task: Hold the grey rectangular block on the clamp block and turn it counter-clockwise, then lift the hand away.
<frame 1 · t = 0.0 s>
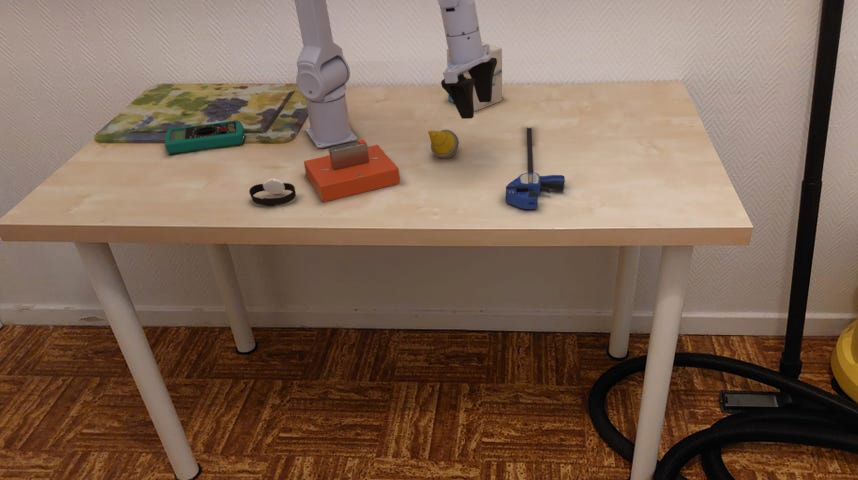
hand: (476, 109, 130), 11 cm above the table, tool pointing down, fingers open, 7 cm apart
yellow pointed rounded piece: (444, 158, 138), on the table
ink box: (475, 101, 160), on the table
digital multimeter: (206, 144, 147), on the table
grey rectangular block: (349, 154, 129), point 5 cm above the table, hinge at 0.0°
watch: (274, 201, 127), on the table
bar clamp: (534, 167, 134), on the table
clamp block: (352, 179, 132), on the table
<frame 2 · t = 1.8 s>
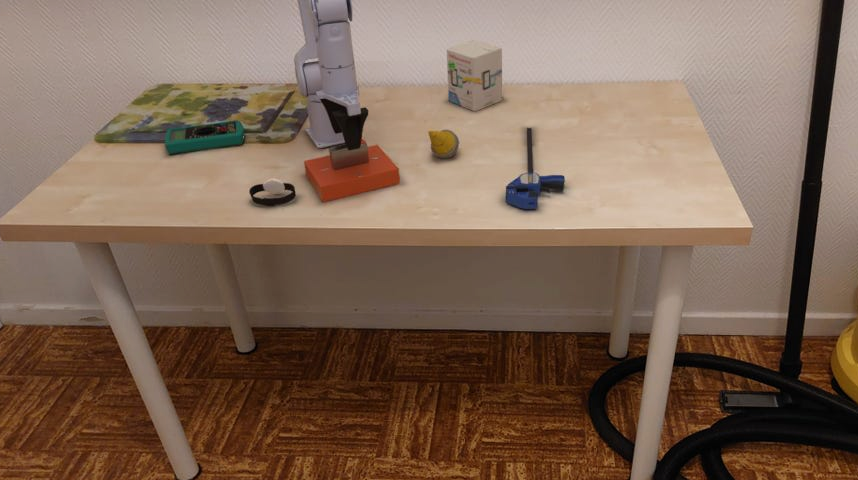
hand: (347, 140, 128), 8 cm above the table, tool pointing down, fingers open, 7 cm apart
nothing on the table moved.
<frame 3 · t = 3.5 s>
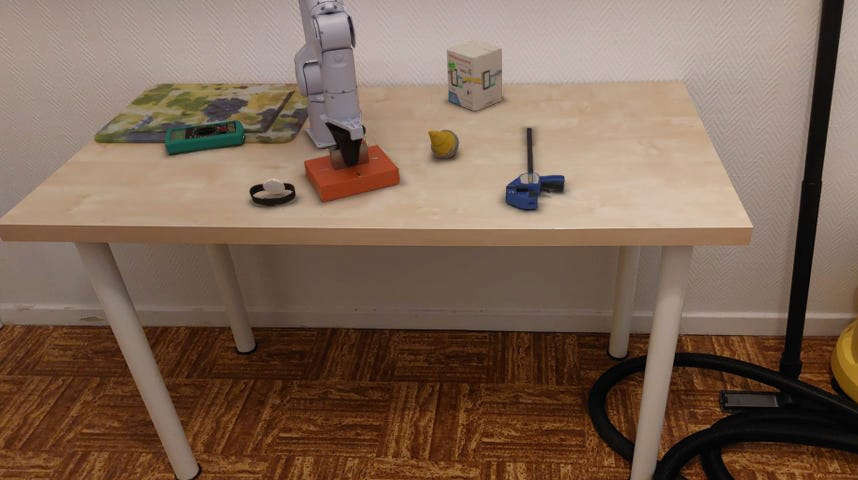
hand: (350, 161, 130), 4 cm above the table, tool pointing down, fingers closed on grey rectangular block, 2 cm apart
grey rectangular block: (349, 154, 129), point 5 cm above the table, hinge at 0.0°, touching gripper
everything else where it was.
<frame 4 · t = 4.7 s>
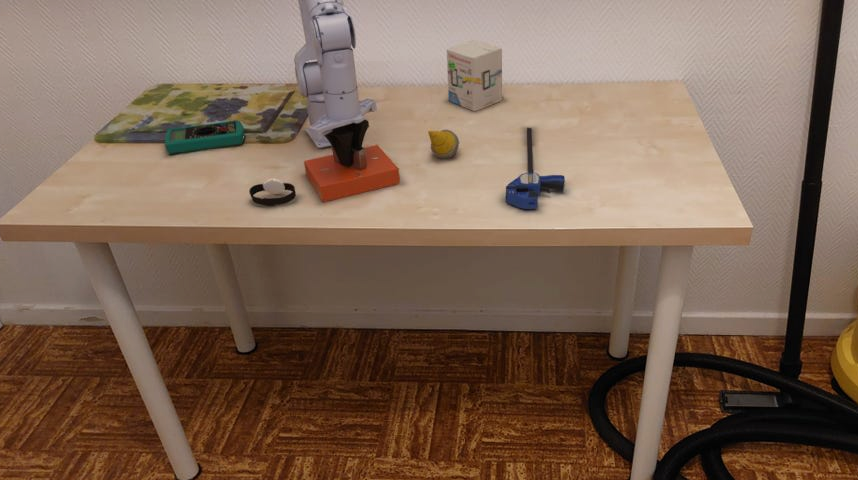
hand: (350, 162, 130), 3 cm above the table, tool pointing down, fingers closed, pressing on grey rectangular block
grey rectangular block: (349, 154, 129), point 5 cm above the table, hinge at 120.0°, touching gripper
everything else where it was.
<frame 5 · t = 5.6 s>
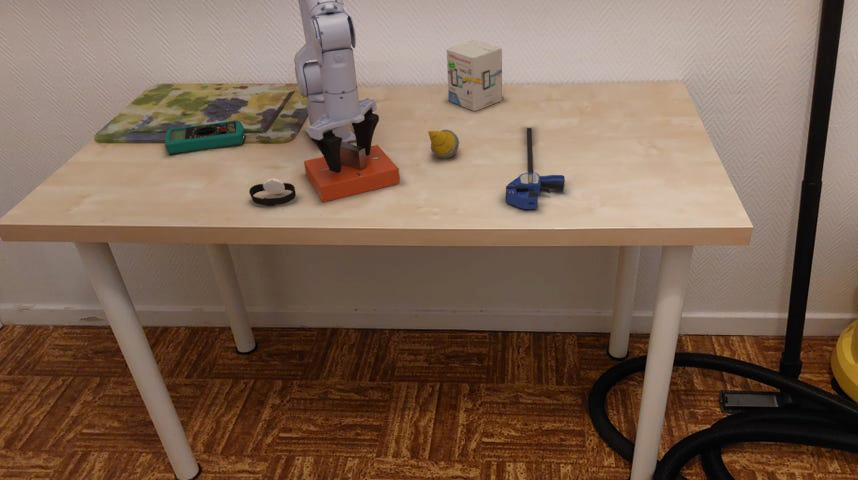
hand: (350, 162, 130), 3 cm above the table, tool pointing down, fingers open, 7 cm apart
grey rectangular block: (349, 154, 129), point 5 cm above the table, hinge at 120.0°
everything else where it was.
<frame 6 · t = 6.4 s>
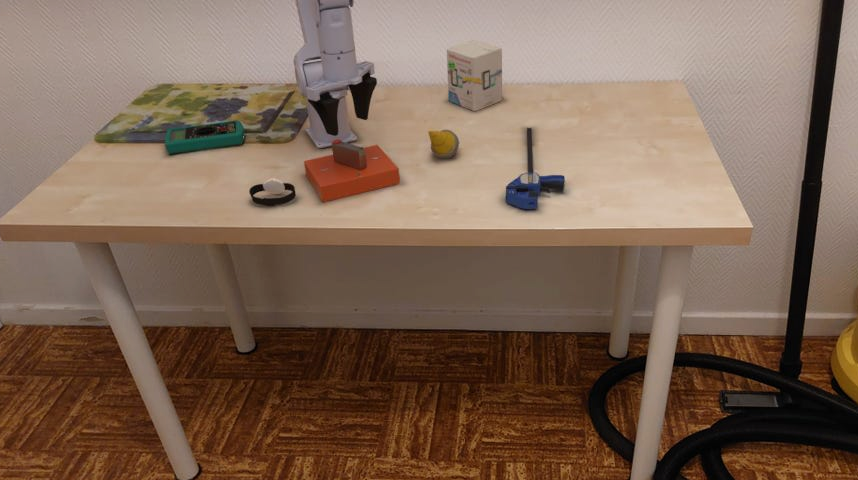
hand: (347, 126, 129), 9 cm above the table, tool pointing down, fingers open, 7 cm apart
nothing on the table moved.
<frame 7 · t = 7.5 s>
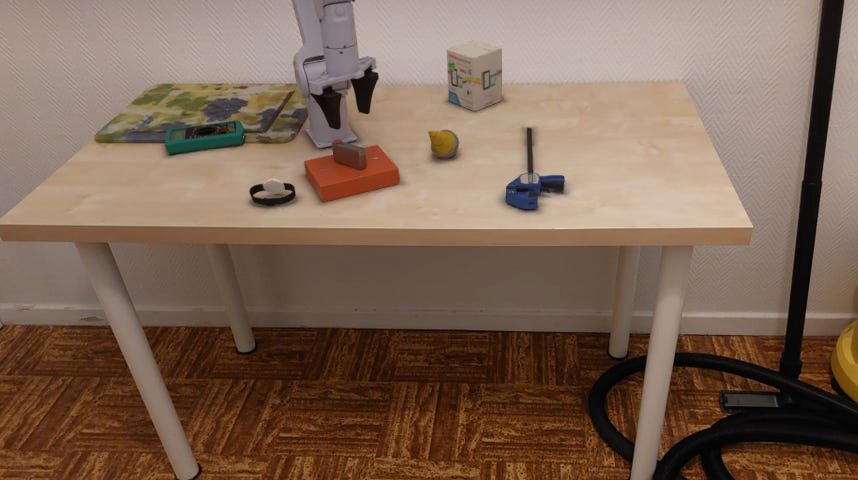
hand: (349, 120, 131), 9 cm above the table, tool pointing down, fingers open, 7 cm apart
nothing on the table moved.
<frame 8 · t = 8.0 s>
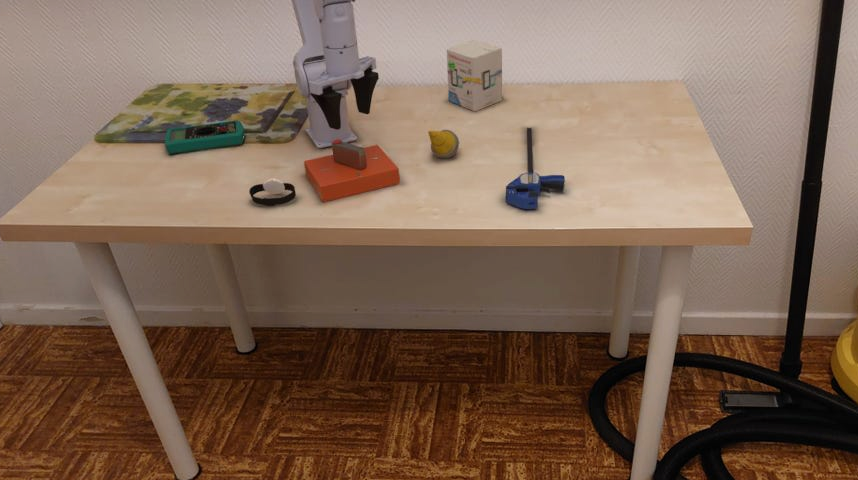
hand: (349, 120, 131), 9 cm above the table, tool pointing down, fingers open, 7 cm apart
nothing on the table moved.
at the end: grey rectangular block at +120° (first picture: +0°); watch moved 0.2 cm from its start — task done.
